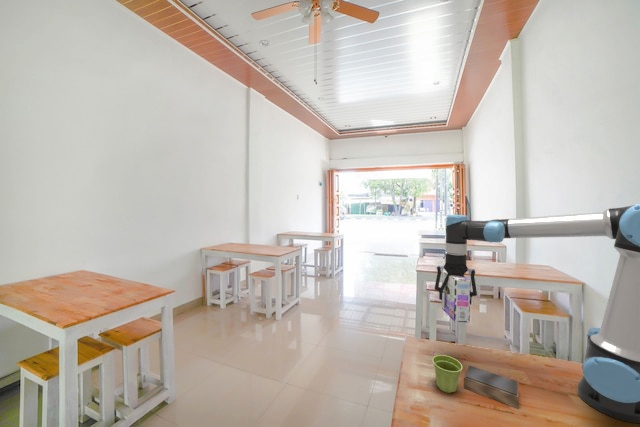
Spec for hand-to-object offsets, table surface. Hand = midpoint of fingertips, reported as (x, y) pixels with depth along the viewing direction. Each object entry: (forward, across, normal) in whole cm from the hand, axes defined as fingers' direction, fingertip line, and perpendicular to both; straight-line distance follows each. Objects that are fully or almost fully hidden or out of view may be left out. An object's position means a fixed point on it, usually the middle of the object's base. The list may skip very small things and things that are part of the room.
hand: (454, 309), depth 106 cm
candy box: (+2, 0, 0) cm, 2 cm away
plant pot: (+21, +1, +19) cm, 28 cm away
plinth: (+21, -12, +12) cm, 27 cm away
